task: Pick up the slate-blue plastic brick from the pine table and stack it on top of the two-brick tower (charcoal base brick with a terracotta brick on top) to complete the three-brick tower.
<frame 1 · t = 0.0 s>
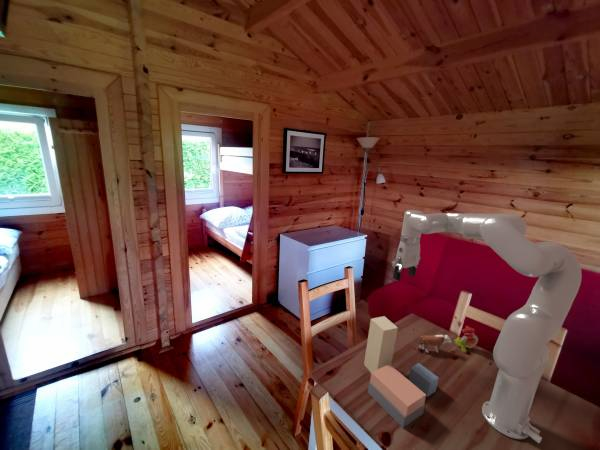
hand: (403, 277, 118), 31 cm above the table, tool pointing down, fingers open, 9 cm apart
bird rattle: (464, 348, 123), on the table
brick tower: (394, 402, 93), on the table
slate brick: (421, 386, 100), on the table
bull figurine: (432, 350, 120), on the table
toy refrigerator: (377, 370, 107), on the table
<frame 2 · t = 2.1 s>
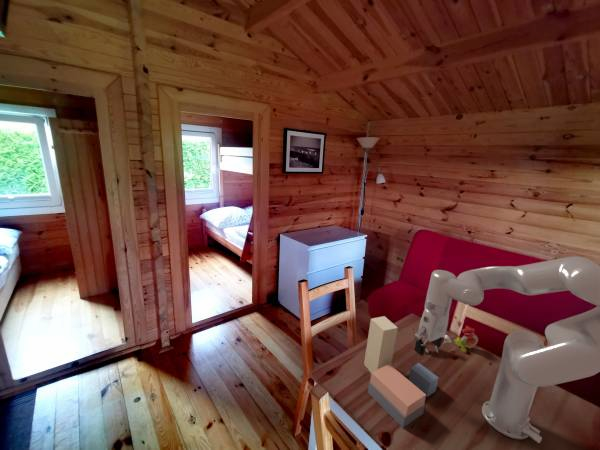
hand: (427, 348, 97), 16 cm above the table, tool pointing down, fingers open, 9 cm apart
nothing on the table moved.
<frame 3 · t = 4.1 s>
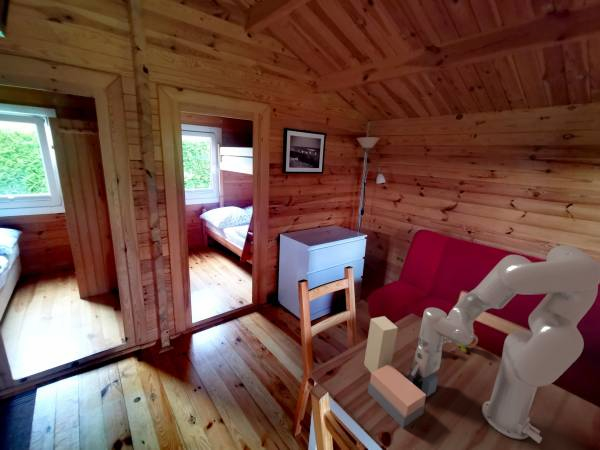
hand: (421, 384, 100), 0 cm above the table, tool pointing down, fingers closed on slate brick, 5 cm apart
slate brick: (421, 385, 100), on the table, touching gripper
everything else where it was.
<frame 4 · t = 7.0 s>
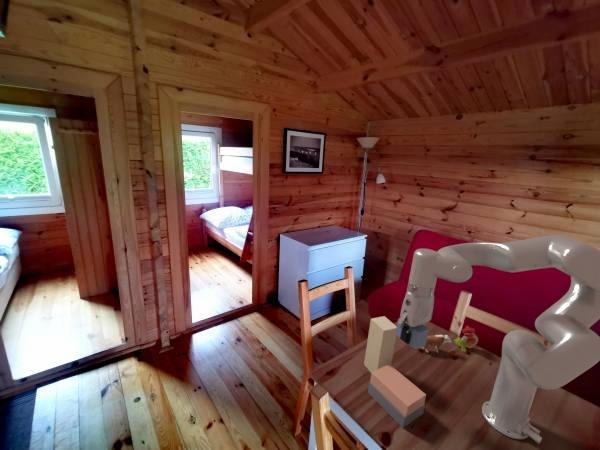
hand: (410, 338, 89), 24 cm above the table, tool pointing down, fingers closed on slate brick, 5 cm apart
slate brick: (410, 339, 89), point 23 cm above the table, touching gripper
everything else where it was.
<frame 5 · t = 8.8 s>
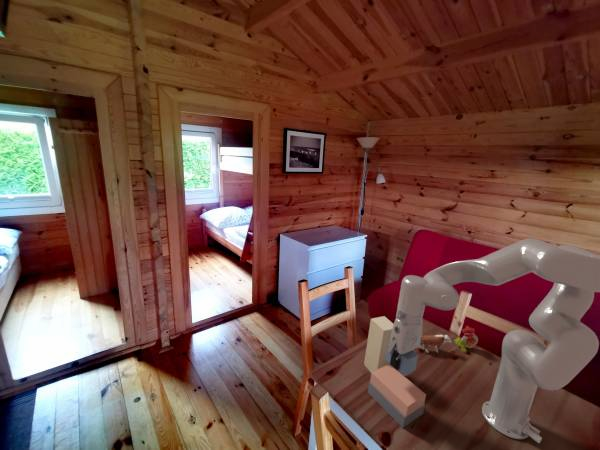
hand: (400, 363, 89), 16 cm above the table, tool pointing down, fingers closed on slate brick, 5 cm apart
slate brick: (399, 365, 89), point 15 cm above the table, touching gripper
everything else where it was.
when the fingers open (10 cm above the table, at t = 10.3 s): slate brick drops 1 cm, resting on brick tower.
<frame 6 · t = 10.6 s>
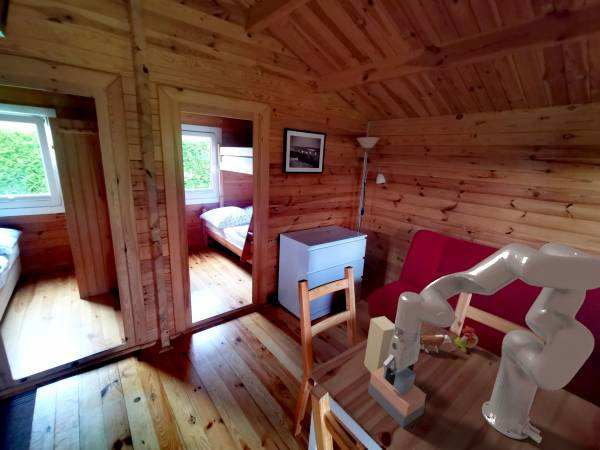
hand: (398, 376, 90), 11 cm above the table, tool pointing down, fingers open, 8 cm apart
slate brick: (397, 383, 91), point 8 cm above the table, touching brick tower
everything else where it was.
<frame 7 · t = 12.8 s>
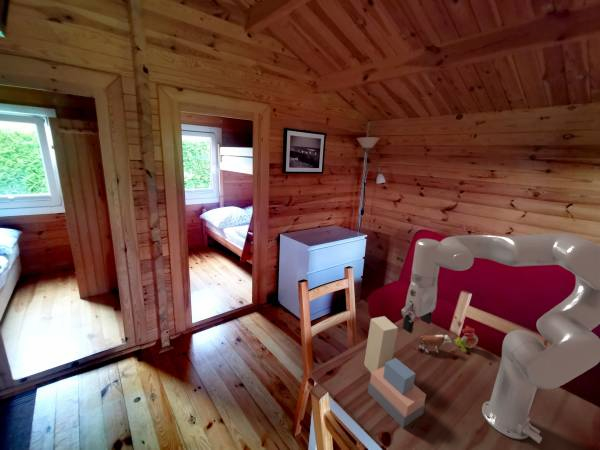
hand: (416, 326, 90), 27 cm above the table, tool pointing down, fingers open, 9 cm apart
nothing on the table moved.
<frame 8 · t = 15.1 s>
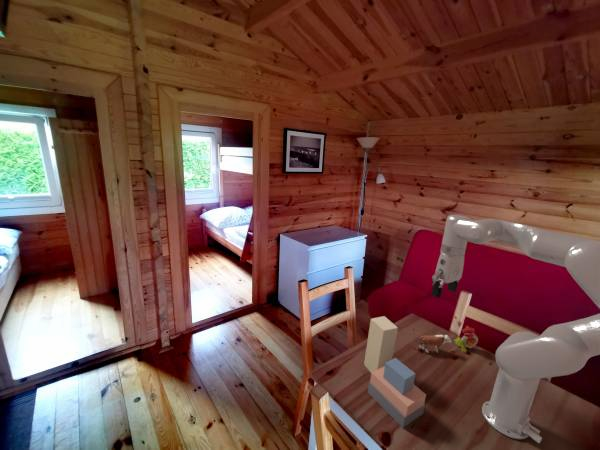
hand: (443, 293, 101), 33 cm above the table, tool pointing down, fingers open, 9 cm apart
nothing on the table moved.
at the end: slate brick 0.0 cm off-centre on the brick tower, point 8.0 cm above the brick tower's base; slate brick tilted 0°; the gripper is holding nothing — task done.
